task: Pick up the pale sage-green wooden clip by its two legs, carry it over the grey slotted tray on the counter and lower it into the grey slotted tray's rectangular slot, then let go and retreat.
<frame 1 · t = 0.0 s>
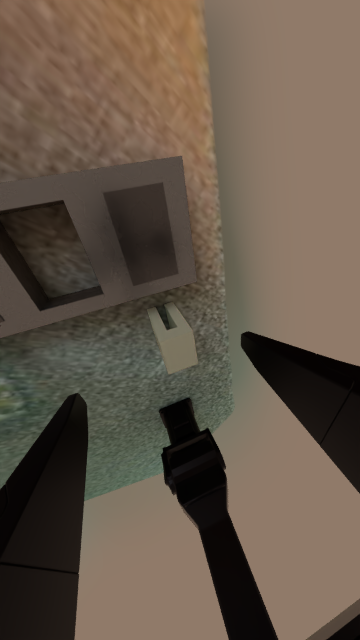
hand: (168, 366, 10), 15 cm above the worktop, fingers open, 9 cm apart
grey slotted tray: (58, 255, 18), on the worktop
clip: (163, 320, 25), on the worktop
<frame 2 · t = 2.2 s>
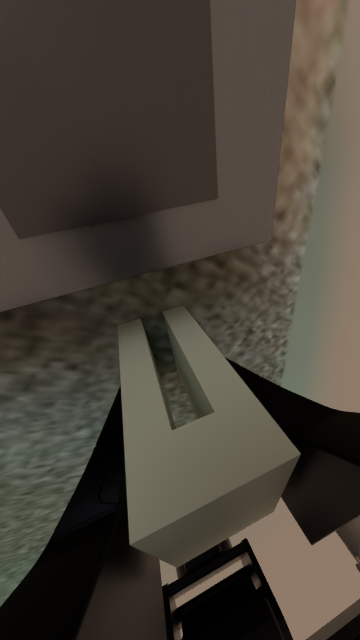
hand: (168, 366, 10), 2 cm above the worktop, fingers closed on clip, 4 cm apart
clip: (161, 348, 11), on the worktop, touching gripper
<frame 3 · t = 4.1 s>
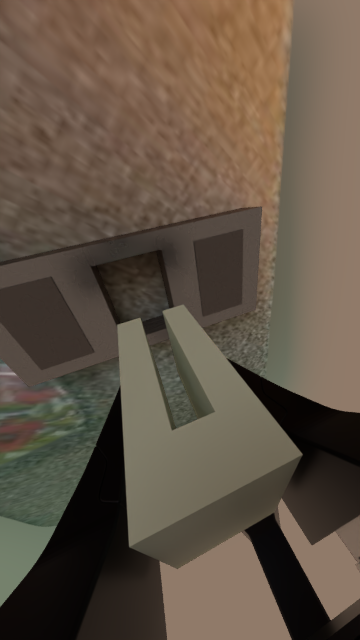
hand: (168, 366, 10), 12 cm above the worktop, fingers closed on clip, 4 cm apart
grey slotted tray: (137, 289, 20), on the worktop
clip: (161, 348, 11), point 11 cm above the worktop, touching gripper
when the fingers open (3 cm above the worktop, at t = 5.7 s): clip drops 2 cm, resting in grey slotted tray.
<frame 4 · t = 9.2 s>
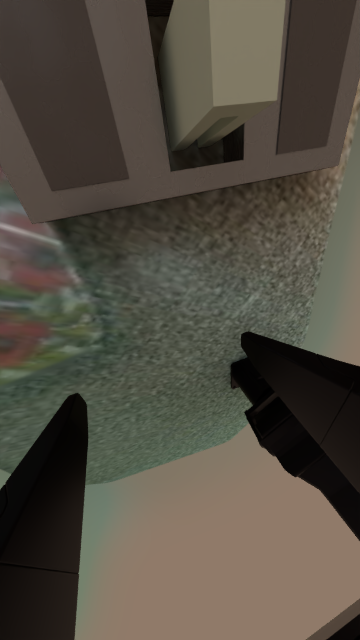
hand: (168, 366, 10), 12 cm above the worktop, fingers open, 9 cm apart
grey slotted tray: (187, 106, 14), on the worktop
clip: (187, 106, 14), resting in grey slotted tray
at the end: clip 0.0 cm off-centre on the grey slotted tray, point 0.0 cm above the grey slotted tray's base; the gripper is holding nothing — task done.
